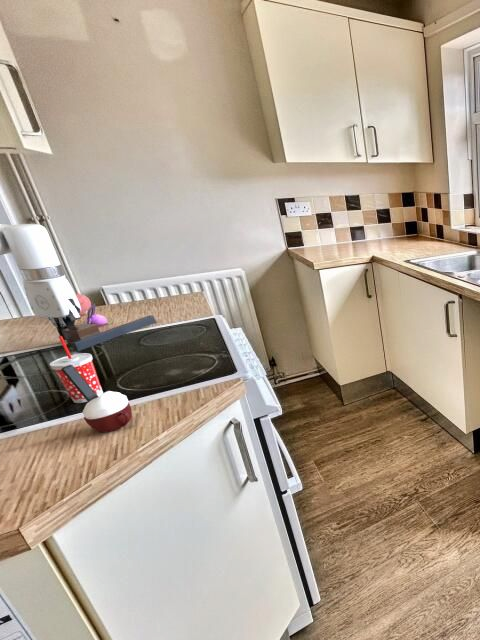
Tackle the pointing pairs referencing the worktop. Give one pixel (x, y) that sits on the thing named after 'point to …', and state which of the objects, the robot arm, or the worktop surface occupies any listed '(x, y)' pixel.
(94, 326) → the walnut block
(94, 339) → the rail
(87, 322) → the purple looped trinket
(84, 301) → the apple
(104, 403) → the cocoa
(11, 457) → the worktop surface
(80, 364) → the beverage cup
